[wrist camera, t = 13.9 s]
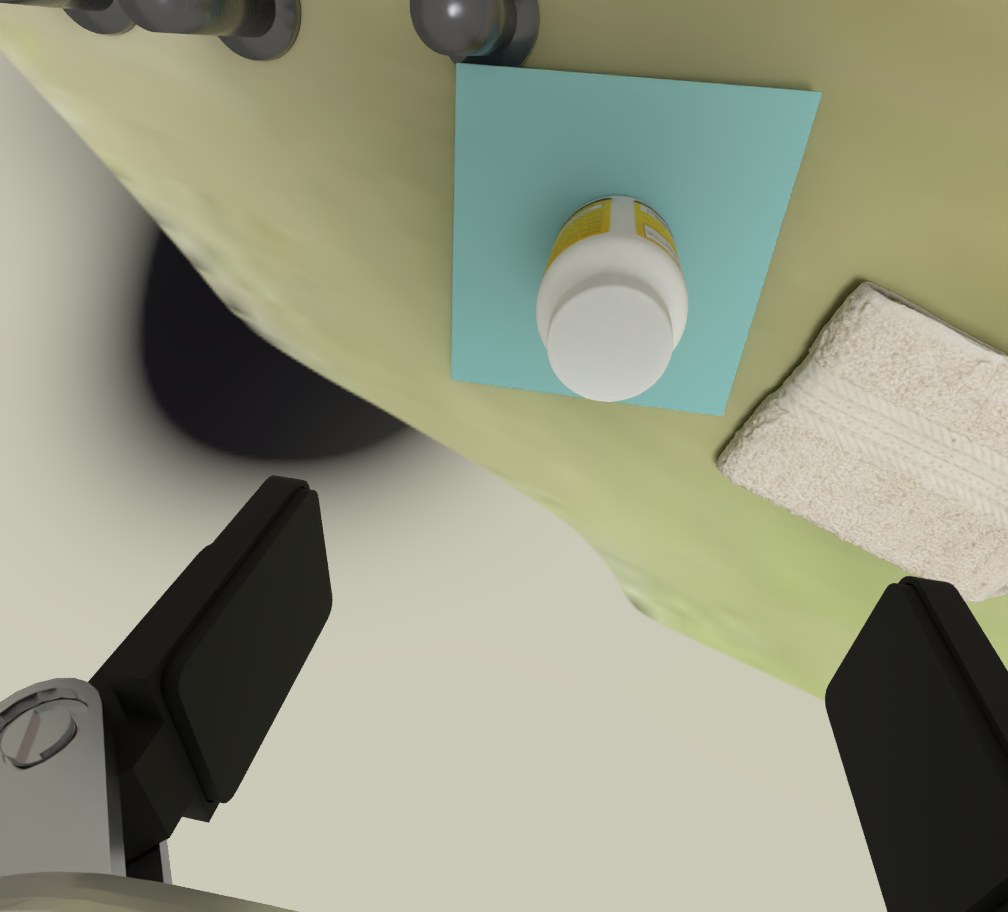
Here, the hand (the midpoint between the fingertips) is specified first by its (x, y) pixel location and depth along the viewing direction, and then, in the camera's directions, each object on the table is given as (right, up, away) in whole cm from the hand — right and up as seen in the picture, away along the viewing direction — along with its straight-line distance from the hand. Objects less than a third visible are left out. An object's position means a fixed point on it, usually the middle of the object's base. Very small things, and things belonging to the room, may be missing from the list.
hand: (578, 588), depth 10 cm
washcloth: (+21, +3, +22) cm, 30 cm away
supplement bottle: (+4, +11, +17) cm, 21 cm away
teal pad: (+4, +12, +18) cm, 22 cm away
